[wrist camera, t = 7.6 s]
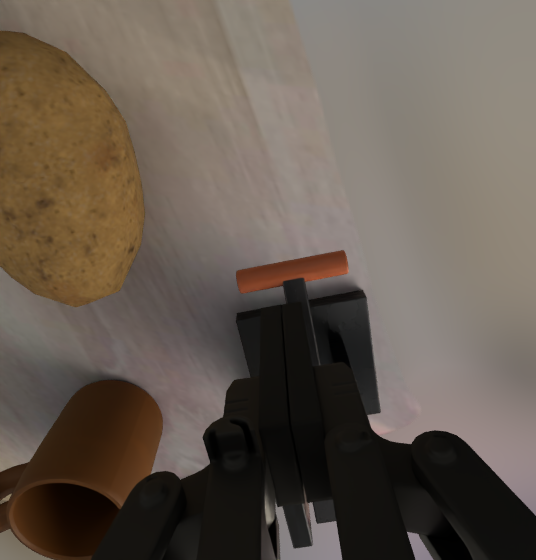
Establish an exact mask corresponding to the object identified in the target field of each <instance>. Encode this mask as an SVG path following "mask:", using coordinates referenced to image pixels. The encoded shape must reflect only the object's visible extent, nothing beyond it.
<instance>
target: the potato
mask: <svg viewBox="0 0 536 560" xmlns="http://www.w3.org/2000/svg"><path fill="white" fill-rule="evenodd" d="M144 217H145V210H144V202H143V193H142V184H141V180H140V175H139V170H138V166H137V161H136V156H135V152H134V149H133V145H132V142H131V138H130V135H129V132H128V128H127V125H126V121H125V120H124V118H123V117H122V115H121V114H120V112H119V111H118V109H117V108H116V106H115V105H114V103H113V101H112V100H111V98H110V97H109V95H108V94H107V92H106V91H105V90H104V89H103V88H102V87H101V86H100V85H99V84H98V83H97V82H96V81H95V80H94V79H93V78H92V77H91V76H90V75H89V74H88V73H87V72H86V71H85V70H84V69H83V68H82V67H81V66H80V65H79V64H78V63H77V62H76V61H75V60H74V59H73V58H72V57H71V56H70V55H69V54H67V53H66V52H65V51H62V50H60V49H58V48H56V47H54V46H51V45H49V44H47V43H45V42H42V41H40V40H38V39H36V38H34V37H31V36H29V35H27V34H25V33H19V32H10V31H0V266H1V267H2V268H3V269H4V270H5V271H6V272H7V273H8V274H9V275H10V276H11V277H12V278H13V279H15V280H16V281H17V282H19V283H20V284H22V285H23V286H24V287H26V288H27V289H29V290H30V291H32V292H33V293H34V294H37V295H40V296H43V297H46V298H49V299H52V300H55V301H58V302H61V303H64V304H67V305H70V306H73V307H79V306H82V305H85V304H88V303H91V302H93V301H96V300H98V299H101V298H103V297H105V296H108V295H110V294H113V293H115V292H118V291H120V289H121V286H122V284H123V282H124V280H125V278H126V276H127V273H128V271H129V269H130V267H131V265H132V263H133V261H134V258H135V256H136V254H137V252H138V250H139V248H140V245H141V240H142V232H143V225H144Z"/></svg>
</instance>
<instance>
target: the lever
mask: <svg viewBox="0 0 536 560" xmlns="http://www.w3.org/2000/svg"><path fill="white" fill-rule="evenodd" d="M347 273H348V262H347V257H346V254H345V252H344V250H341V251H336V252H330V253H325V254H320V255H315V256H310V257H304V258H299V259H294V260H289V261H284V262H278V263H273V264H268V265H263V266H257V267H252V268H247V269H242V270H238V271H237V272H236V279H237V284H238V288H239V291H240V293H248V292H253V291H258V290H264V289H269V288H274V287H280V286H283V288H284V293H285V299H286V304H289V303H295V302H301V304H302V309H303V315H304V321H305V327H306V332H307V338H308V344H309V350H310V355H311V361H312V367H313V366H319V365H321V364H320V359H319V353H318V348H317V343H316V337H315V332H314V327H313V321H312V316H311V311H310V306H309V300H308V295H307V290H306V284H305V282H306V281H312V280H317V279H322V278H328V277H333V276H338V275H344V274H347ZM313 507H314V512H315V517H316V522H317V524H318V523H326V522H332V521H336V516H335V510H334V503H333V499H332V500H325V501H318V502H313Z"/></svg>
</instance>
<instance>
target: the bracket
mask: <svg viewBox="0 0 536 560" xmlns="http://www.w3.org/2000/svg"><path fill="white" fill-rule="evenodd" d="M309 306H310V311H311V316H312V321H313V327H314V332H315V337H316V343H317V348H318V353H319V359H320V364H321V365H326V364H332V363H338V362H344V363H345V364H346V365H347V366H348V367H349V368H350V369H351V370H352V371H353V374H354V377H355V381H356V384H357V387H358V390H359V393H360V396H361V400H362V403H363V406H364V409H365V412H366V415H370V414H376V413H380V412H381V411H380V403H379V395H378V387H377V379H376V371H375V362H374V354H373V346H372V338H371V330H370V322H369V314H368V306H367V298H366V296H365V294H364V292H363V290H360V291H354V292H349V293H344V294H338V295H333V296H327V297H322V298H317V299H311V300H309ZM280 307H281V312H282V305H280ZM282 317H283V316H282ZM260 322H261V309H257V310H252V311H246V312H241V313H237V317H236V323H237V327H238V331H239V335H240V339H241V342H242V346H243V350H244V354H245V358H246V361H247V365H248V369H249V373H250V377H256V376H259V372H260ZM367 419H368V416H367ZM368 422H369V420H368ZM369 424H370V423H369ZM304 495H305V503H303V504H296V505H288V506H283V510H284V514H285V518H286V521H287V525H288V529H289V532H290V536H291V540H292V544H293V547H294V548H301V547H309V546H312V545H313V541H312V532H311V522H310V513H309V504H308V503H307V499H306V494H305V490H304ZM275 502H276V499H275ZM276 504H277V503H276Z"/></svg>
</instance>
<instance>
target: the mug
mask: <svg viewBox="0 0 536 560" xmlns="http://www.w3.org/2000/svg"><path fill="white" fill-rule="evenodd" d="M162 429H163V419H162V414H161V411H160V409H159V407H158V405H157V403H156V402H155V400H154V399H153V398H152V397H151V396H150V395H149V394H148V393H147V392H145V391H144V390H142V389H141V388H139V387H137V386H135V385H133V384H130V383H127V382H123V381H118V380H103V381H98V382H94V383H91V384H89V385H86V386H84V387H83V388H81V389H80V390H79V391H77V392H76V393H75V394H74V395H73V396H72V397H71V399H70V400H69V401H68V403H67V404H66V406H65V407H64V409H63V410H62V412H61V413H60V415H59V417H58V418H57V420H56V421H55V423H54V424H53V426H52V427H51V429H50V430H49V432H48V433H47V435H46V437H45V438H44V440H43V441H42V443H41V444H40V446H39V448H38V449H37V451H36V452H35V454H34V456H33V457H32V459H31V460H30V462H28V463H25V464H21V465H17V466H14V467H11V468H9V469H7V470H4V471H2V472H0V501H1V500H2V499H3V498H5V497H6V496H7V495H9V494H11V493H12V495H11V497H10V499H9V501H7V502H4V503H2V504H0V533H1V532H3V531H6V530H8V529H11V531H12V532H13V534H14V535H15V536H16V538H17V539H18V540H19V541H20V542H21V543H23V544H24V545H25V546H26V547H28V548H30V549H31V550H32V551H34V552H36V553H38V554H40V555H43V556H45V557H48V558H51V559H54V560H91V558H92V556H93V555H94V553H95V551H96V549H97V548H98V546H99V544H100V543H101V541H102V539H103V538H104V536H105V534H106V532H107V531H108V529H109V527H110V526H111V524H112V522H113V521H114V519H115V517H116V515H117V514H118V512H119V510H120V509H121V507H122V505H123V504H124V502H125V500H126V498H127V497H128V495H129V493H130V492H131V490H132V489H133V488H134V487H135V485H136V484H137V483H138V482H139V481H141V480H142V479H144V478H145V477H146V476H148V475H150V474H151V471H152V467H153V464H154V460H155V456H156V452H157V449H158V446H159V442H160V439H161V434H162Z"/></svg>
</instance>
